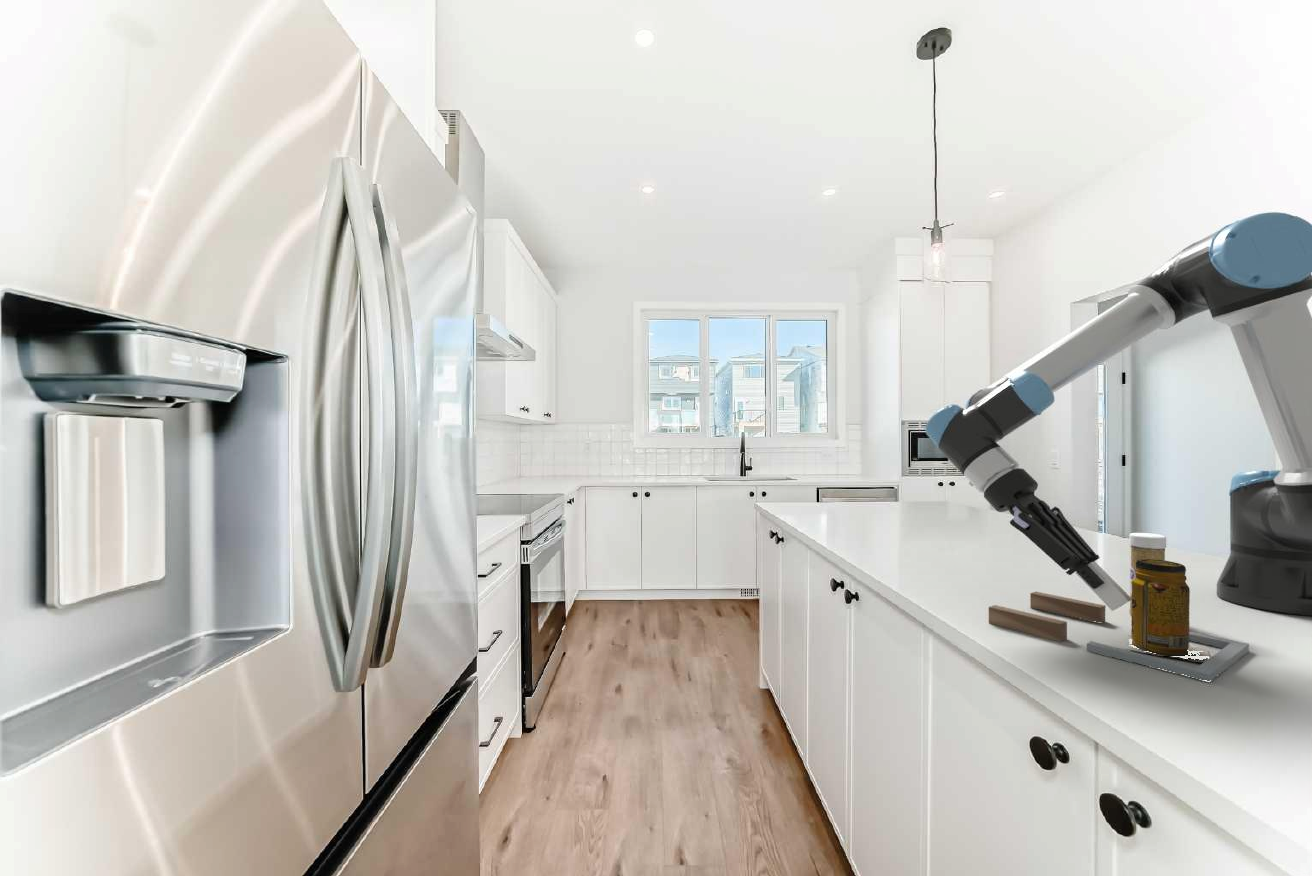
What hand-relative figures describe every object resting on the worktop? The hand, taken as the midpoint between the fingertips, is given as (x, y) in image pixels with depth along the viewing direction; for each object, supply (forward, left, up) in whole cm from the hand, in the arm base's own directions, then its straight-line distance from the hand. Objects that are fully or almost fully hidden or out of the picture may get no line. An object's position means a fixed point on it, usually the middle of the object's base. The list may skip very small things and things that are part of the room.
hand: (1122, 605), depth 84 cm
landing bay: (0, +4, -5) cm, 7 cm away
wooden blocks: (0, -10, -5) cm, 11 cm away
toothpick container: (-16, -2, -5) cm, 17 cm away
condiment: (0, +5, -5) cm, 7 cm away
